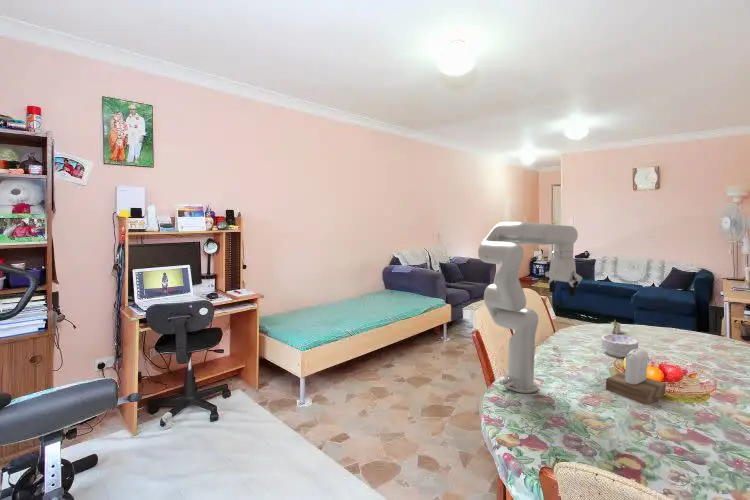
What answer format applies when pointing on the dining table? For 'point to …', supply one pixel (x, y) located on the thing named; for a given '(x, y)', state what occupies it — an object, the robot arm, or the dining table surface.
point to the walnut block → (636, 388)
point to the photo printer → (636, 366)
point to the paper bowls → (618, 344)
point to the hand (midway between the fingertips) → (562, 293)
